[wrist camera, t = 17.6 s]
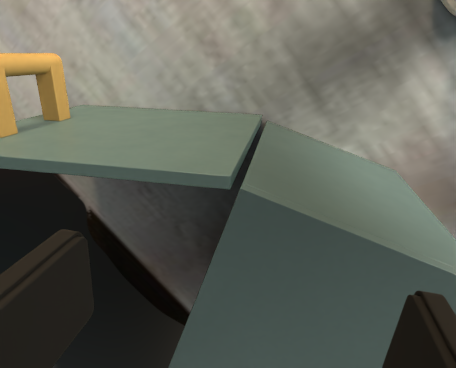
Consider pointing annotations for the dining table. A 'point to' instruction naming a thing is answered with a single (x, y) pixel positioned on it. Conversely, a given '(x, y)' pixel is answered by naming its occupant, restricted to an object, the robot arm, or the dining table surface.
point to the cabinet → (314, 262)
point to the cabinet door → (118, 135)
